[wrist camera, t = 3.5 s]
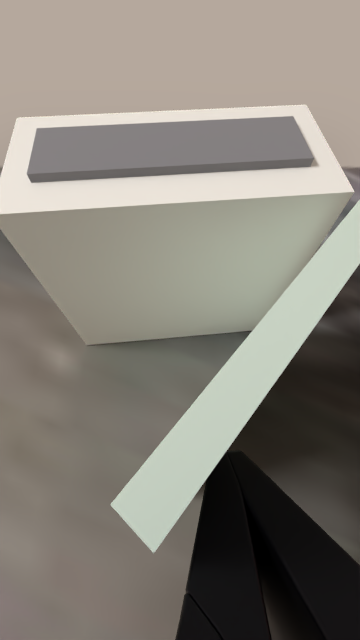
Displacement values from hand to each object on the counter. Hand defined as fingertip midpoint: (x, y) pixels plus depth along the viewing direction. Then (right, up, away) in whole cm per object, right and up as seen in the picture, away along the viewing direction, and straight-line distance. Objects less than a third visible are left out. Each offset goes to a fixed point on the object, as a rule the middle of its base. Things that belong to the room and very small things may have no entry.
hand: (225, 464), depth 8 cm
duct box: (-2, +5, +11) cm, 12 cm away
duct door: (+1, -1, +8) cm, 8 cm away
